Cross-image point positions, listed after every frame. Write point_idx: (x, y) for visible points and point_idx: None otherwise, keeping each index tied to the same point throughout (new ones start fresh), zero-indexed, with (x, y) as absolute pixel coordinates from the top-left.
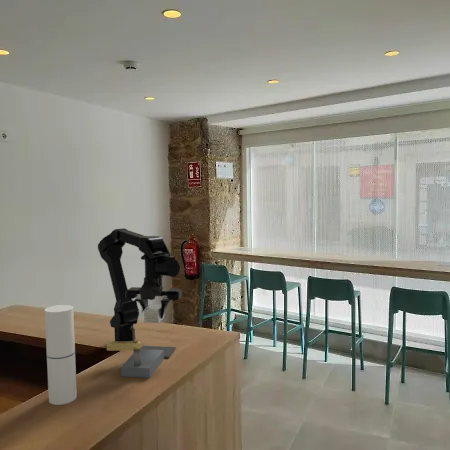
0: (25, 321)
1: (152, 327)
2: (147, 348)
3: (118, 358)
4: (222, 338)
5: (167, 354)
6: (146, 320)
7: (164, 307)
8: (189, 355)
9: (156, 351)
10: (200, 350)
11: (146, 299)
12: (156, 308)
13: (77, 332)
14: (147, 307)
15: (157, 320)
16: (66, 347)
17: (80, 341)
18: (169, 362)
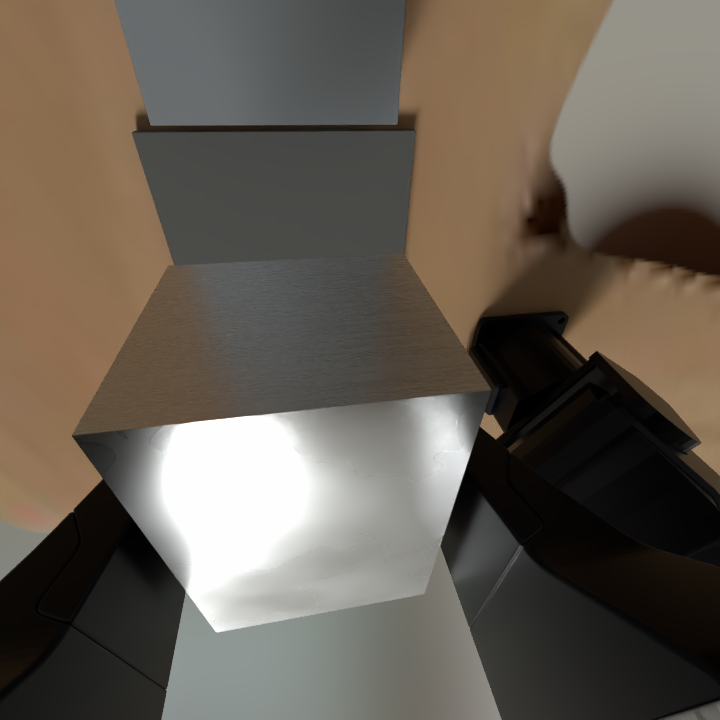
0: None
1: None
2: None
3: (520, 77)
4: (28, 476)
5: (170, 180)
6: (375, 271)
7: (16, 568)
8: (17, 220)
9: (200, 71)
10: (12, 318)
11: (518, 682)
12: (212, 500)
13: (705, 394)
14: (434, 499)
15: (178, 285)
16: None
17: (714, 313)
18: (69, 26)
